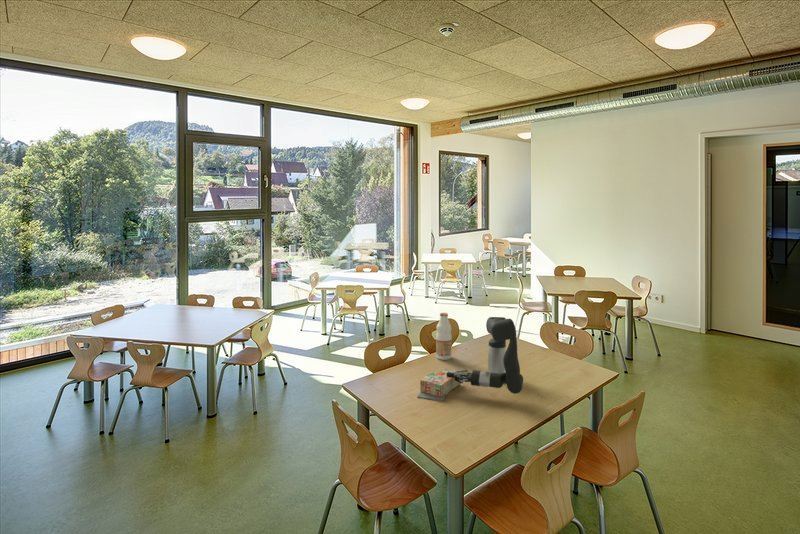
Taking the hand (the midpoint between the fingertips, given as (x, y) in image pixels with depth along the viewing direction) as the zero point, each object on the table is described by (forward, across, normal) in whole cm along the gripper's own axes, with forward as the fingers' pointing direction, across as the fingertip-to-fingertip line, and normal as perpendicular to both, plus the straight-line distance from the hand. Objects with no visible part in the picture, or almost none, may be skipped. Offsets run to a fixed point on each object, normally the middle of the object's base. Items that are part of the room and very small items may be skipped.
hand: (447, 374), depth 233 cm
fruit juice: (+14, -49, +9) cm, 52 cm away
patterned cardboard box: (-2, -1, +5) cm, 6 cm away
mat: (+6, 0, +9) cm, 11 cm away
